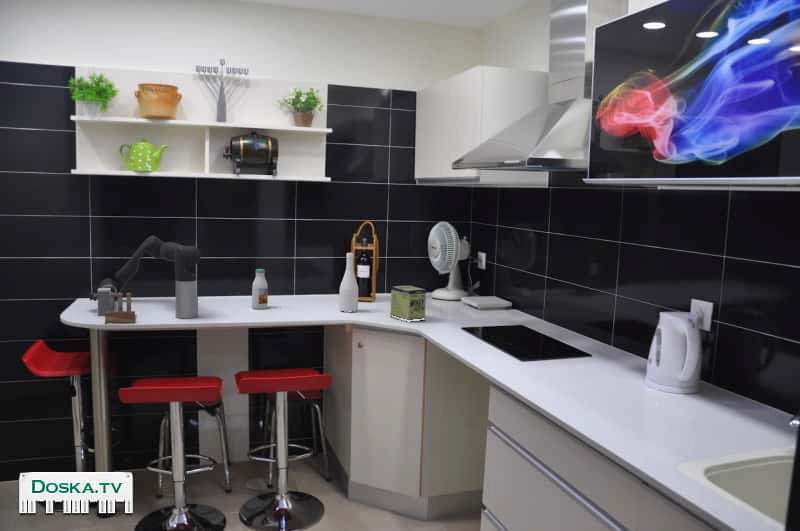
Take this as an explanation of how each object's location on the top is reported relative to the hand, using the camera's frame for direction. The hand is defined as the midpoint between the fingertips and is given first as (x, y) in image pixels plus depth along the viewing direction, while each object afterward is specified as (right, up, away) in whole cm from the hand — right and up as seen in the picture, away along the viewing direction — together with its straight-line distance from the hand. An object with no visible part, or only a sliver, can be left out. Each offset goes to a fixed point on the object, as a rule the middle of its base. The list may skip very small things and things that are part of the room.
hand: (105, 298), depth 307 cm
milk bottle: (+67, -6, +28) cm, 72 cm away
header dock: (+12, -9, -11) cm, 19 cm away
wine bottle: (+112, -8, +29) cm, 116 cm away
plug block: (+1, -7, -2) cm, 8 cm away
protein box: (+142, -11, +15) cm, 143 cm away
